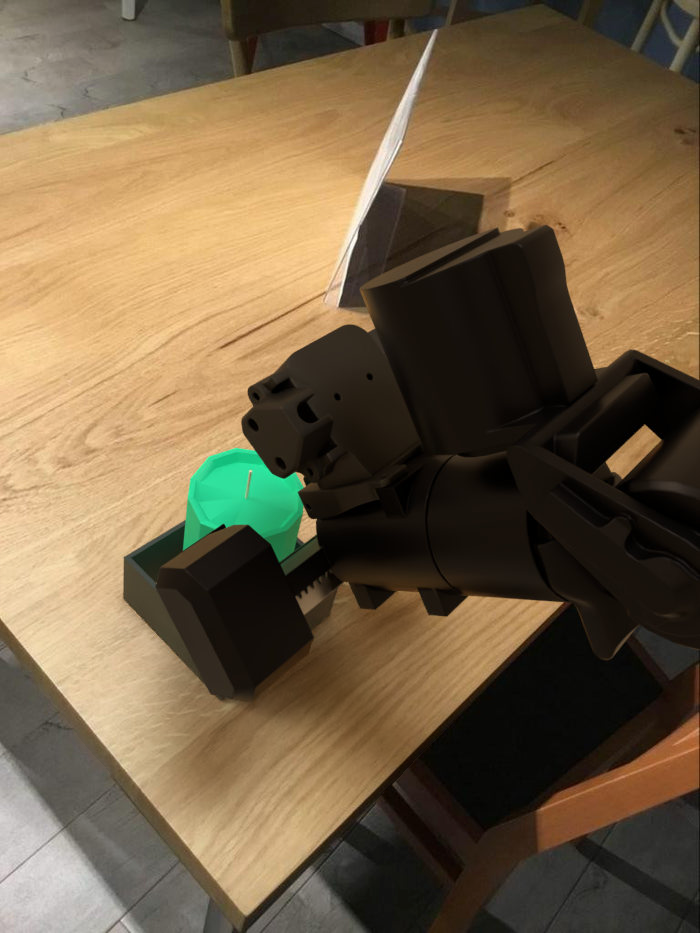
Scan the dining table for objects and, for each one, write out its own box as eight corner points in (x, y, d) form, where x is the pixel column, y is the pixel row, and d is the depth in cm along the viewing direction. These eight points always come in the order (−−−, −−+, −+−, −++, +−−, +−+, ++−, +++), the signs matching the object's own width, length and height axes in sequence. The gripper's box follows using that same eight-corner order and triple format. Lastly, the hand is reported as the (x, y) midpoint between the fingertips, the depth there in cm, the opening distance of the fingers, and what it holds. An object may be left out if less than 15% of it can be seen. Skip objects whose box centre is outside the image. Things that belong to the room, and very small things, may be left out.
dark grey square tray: (329, 615, 53) (342, 577, 50) (220, 701, 48) (227, 663, 45) (234, 527, 56) (241, 485, 53) (122, 598, 51) (123, 556, 48)
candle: (233, 549, 55) (255, 411, 46) (299, 613, 52) (335, 480, 44) (155, 600, 51) (163, 460, 42) (222, 671, 49) (245, 539, 40)
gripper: (534, 250, 38) (308, 318, 49) (208, 442, 26) (16, 471, 38) (613, 480, 40) (382, 492, 52) (349, 741, 29) (130, 682, 41)
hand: (247, 525), depth 46 cm, fingers open, 9 cm apart
